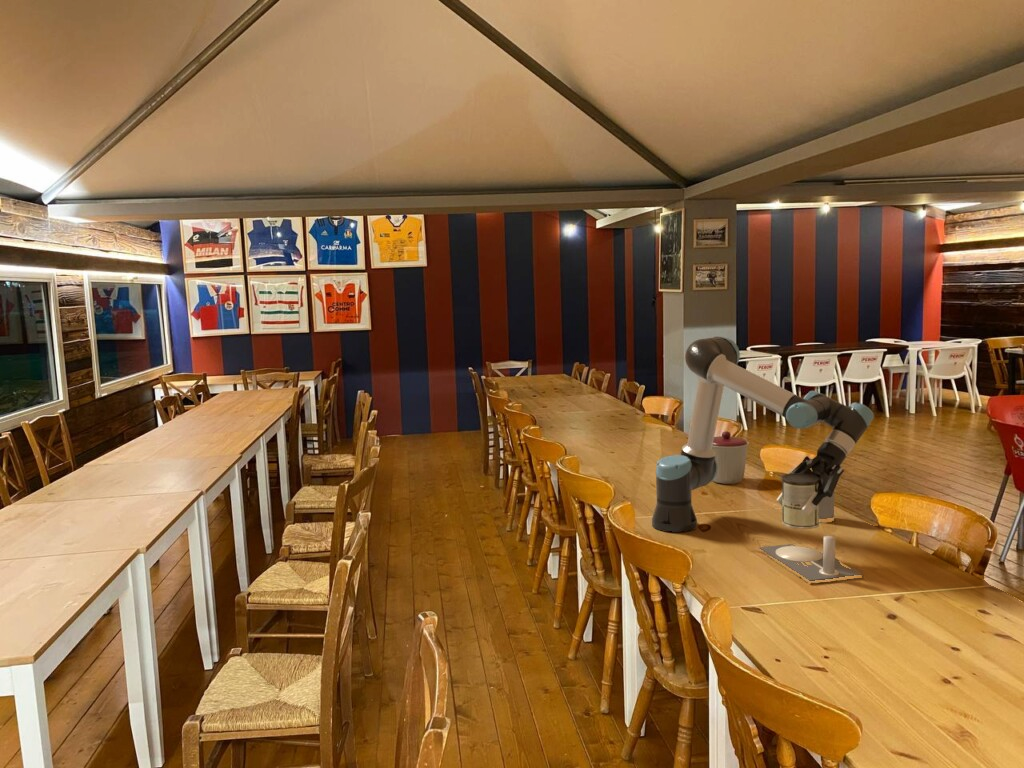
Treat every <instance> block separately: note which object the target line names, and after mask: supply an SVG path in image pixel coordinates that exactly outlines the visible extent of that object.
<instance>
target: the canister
mask: <svg viewBox="0 0 1024 768" xmlns="http://www.w3.org/2000/svg"><path fill="white" fill-rule="evenodd" d="M749 445H750V442H749V441H747V440H746V439H744V438H742V437H739V436H732V435H731V432H730V431H723V432H721V435H719V436H714V440H713V445H712V449H713V451H714V452H715V461H716V462H717V465H718V471H717V475H716V477H715V478H714V480H713V481H712V482H714V483H717V484H718V483H719V484H725V485H733V484H738V483H741V482H742V481H743V479H744V477H745V471H746V465H747V464H746V463H747V462H746V461H747V454H748V446H749Z"/></svg>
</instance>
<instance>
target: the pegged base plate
mask: <svg viewBox="0 0 1024 768" xmlns="http://www.w3.org/2000/svg"><path fill="white" fill-rule="evenodd" d="M822 539H823V540H822V541H823V542H822V543H823V546H822V547H823V550H822V551H823V553H821V552H819V551H817V550H815V549H812V548H808V547H801V546H795V545H793V544H794V543H788V544H781V545H777V544H776V545H769V546H768V545H767V546H760V547H759V549H761V550H763V551H764V552H766V553H767V554H769V555H770V556H772V557H773V558H775V559H777V560H778V561H780V562H782V563H783V564H785V565H786V566H788V567H789V568H791V569H792V570H794V571H796V572H797V573H799V574H800V575H802V576H803V577H805V578H806V579H808V580H809V581H815V580H825V579H833V578H839V577H845V576H854V575H862V574H863V573H862V572H861V571H858V570H857V569H855V568H853V567H851V566H850V568H851V569H849V568H846V567H844V566H842V565H841V564H840V562H839V561H840V559H837V558H836V537H835V536H832V535H823V538H822ZM791 545H793V546H791ZM759 549H758V550H759ZM801 562H803V563H804V564H805V565H807V564H806V563H805V562H810V563H811V564H812V565H807V566H808V567H807V566H804V565H803V564H802V563H801ZM797 563H798V564H799V565H798V564H797Z"/></svg>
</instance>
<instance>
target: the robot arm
mask: <svg viewBox="0 0 1024 768" xmlns="http://www.w3.org/2000/svg"><path fill="white" fill-rule="evenodd" d="M739 349H740V348H739V346H738V345H737V344H736V342H735V341H734V340H732V339H731V338H729V337H726V336H714V337H707V338H700V339H697V340H694V341H693V342H691V343H690V344H689V346H688V347H687V349H686V350H685V355H684V359H685V363H686V366H687V367H688V369H689V370H690V371H691V372H692V373H693V374H695V376H696V377H697V378H698V382H697V387H696V393H695V397H694V398H695V399H694V403H693V410H692V413H691V421H690V426H689V432H688V437H687V443H685V444H684V445H682V447H681V451H680V454H673V455H667V456H664V457H662V458H660V459H659V460H657V462H656V470H655V478H656V481H655V482H656V483H655V484H656V505H655V508H654V510H653V514H652V517H651V526H652V527H653V528H654V529H655V530H659V531H661V530H662V531H661V532H666V531H672V532H671V533H683V532H682V531H686V532H690V531H689V530H691V531H693V530H692V529H694V528H695V529H697V528H698V519H697V515H696V512H695V510H694V507H693V504H692V491H693V490H694V491H695V490H696V489H699V488H701V487H705V486H707V485H709V484H710V483H711V482H714V481H713V480H714V478H715V477H716V475H717V471H718V465H717V462H716V461H715V452H714V451H713V449H712V445H713V440H714V437H715V435H716V429H717V428H716V427H717V425H718V424H717V423H718V420H719V419H718V418H719V414H720V407H721V402H722V398H723V392H724V387H726V388H728V389H730V390H732V391H734V392H736V393H738V394H739V395H741V396H743V397H746V398H747V399H749V400H751V401H752V402H755V403H756V404H758V405H759V406H762V407H764V408H766V409H767V410H770V411H772V412H773V413H776V414H777V415H779V416H781V417H783V418H785V419H786V421H787V422H788V424H789V425H790V427H792V428H794V429H798V430H800V429H807V428H811V427H812V426H815V425H817V424H820V423H824V424H825V425H827V426H828V427H830V428H832V430H831V431H830V432H829V433H828V435H827V436H826V437H825V439H824V442H822V443H821V444H820V446H819V447H818V449H817V451H816V456H815V457H813V458H810V457H809V456H805V457H804V458H803V460H802V461H801V462H800V463H799V464H798V465H797V466H796V467H795V468H794V469H793V470H791V472H789V473H788V474H791V473H804V474H812V475H816V474H817V475H820V480H819V486H818V489H817V490H818V491H817V490H816V491H817V492H818V493H817V492H815V491H814V493H813V494H812V496H811V497H810V498H809V500H808V501H807V502H806V504H805V505H804V506H803V508H802V510H803V511H804V512H805V513H806V514H807V515H809V514H810V513H811V512H812V510H813V509H814V508H815V506H817V505H818V504H819V503H820V501H821V500H822V499H823V498H824V497H826V496H828V497H831V496H832V495H833V492H834V493H835V489H836V487H837V485H838V482H839V480H840V476H842V475H843V473H844V472H845V469H843V467H842V466H841V465H842V463H843V462H844V461H845V460H846V458H847V456H848V455H849V454H850V452H851V451H852V450H853V448H854V447H855V445H856V444H857V443H858V441H859V440H860V438H861V437H862V436H863V435H864V433H865V432H866V431H867V430H868V428H869V426H870V425H871V423H872V422H873V421H874V418H875V415H874V412H873V411H872V410H871V409H870V408H869V407H868V406H867V405H865V404H863V403H860V402H856V401H855V402H852V403H850V405H849V406H848V405H846V404H844V403H843V404H842V403H840V402H839V401H837V400H835V399H833V398H831V397H829V396H827V395H825V394H824V393H820V392H819V391H816V390H810V391H808V393H806V394H805V395H804V396H803V397H801V396H799V395H797V394H795V393H793V392H791V391H789V390H787V389H785V388H783V387H781V386H779V385H777V384H776V383H773V382H772V381H769V380H767V379H765V378H763V377H761V376H760V375H757V374H755V373H754V372H752V371H750V370H747V369H745V368H743V367H741V366H739V364H738V363H739V361H740V358H741V353H740V352H741V351H740V350H739ZM776 501H777V502H778V503H779V505H780V506H782V492H781V493H780V494H779V495H778V497H777V498H776ZM695 529H694V530H695Z"/></svg>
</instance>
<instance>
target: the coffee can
mask: <svg viewBox="0 0 1024 768" xmlns="http://www.w3.org/2000/svg"><path fill="white" fill-rule="evenodd" d="M819 480H820V478H819V477H818V476H815V475H812V474H804V473H791V474H789V473H786V474H782V476H781V482H782V483H781V486H782V489H781V493H782V505H781V507H782V511H781V512H782V518H781V519H782V521H781V523H782V525H783V526H785V527H787V528H792V529H796V530H797V529H798V530H810V529H811V530H812V529H813V530H814V529H816V528H818V527H820V523H819V504H818V505H817V506H815V508H814V509H813V510H812V512H811V513H810V514H809V515H807V514H806V513H805V512H804V511H803V510H802V508H803V506H804V505H805V504H806V502H807V501H808V500H809V498H810V497H811V496H812V494H813V493H814V491H815V492H817V491H818V490H817V489H818V486H819ZM816 490H817V491H816ZM817 493H818V492H817Z"/></svg>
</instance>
